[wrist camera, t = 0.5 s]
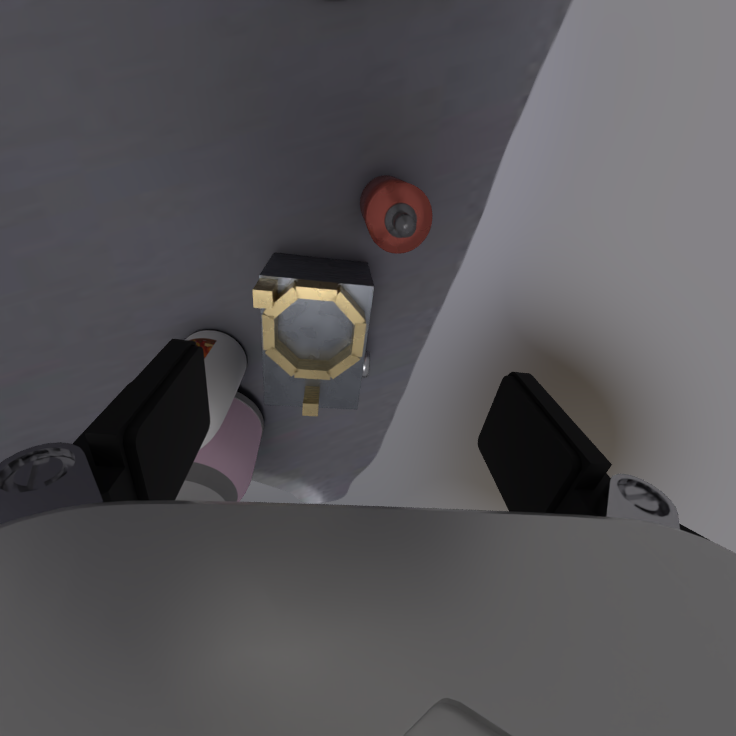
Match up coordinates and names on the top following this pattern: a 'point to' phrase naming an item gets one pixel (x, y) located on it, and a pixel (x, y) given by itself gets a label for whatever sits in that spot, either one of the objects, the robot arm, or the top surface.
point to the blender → (227, 456)
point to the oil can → (395, 214)
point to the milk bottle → (220, 373)
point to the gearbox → (314, 331)
